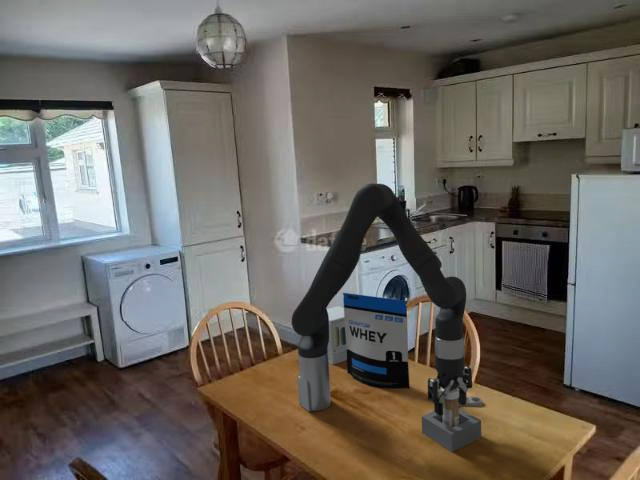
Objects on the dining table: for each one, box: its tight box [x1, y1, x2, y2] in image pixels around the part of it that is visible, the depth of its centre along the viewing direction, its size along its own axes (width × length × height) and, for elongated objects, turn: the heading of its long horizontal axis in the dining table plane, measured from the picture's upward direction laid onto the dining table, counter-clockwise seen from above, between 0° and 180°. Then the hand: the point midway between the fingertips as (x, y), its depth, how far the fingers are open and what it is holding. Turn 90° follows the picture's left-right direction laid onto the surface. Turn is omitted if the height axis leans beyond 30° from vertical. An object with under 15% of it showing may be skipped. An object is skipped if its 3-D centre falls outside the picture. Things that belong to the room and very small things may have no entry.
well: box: [421, 408, 482, 453], centre depth 131 cm, size 11×11×5 cm
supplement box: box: [326, 305, 347, 366], centre depth 189 cm, size 13×13×18 cm
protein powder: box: [342, 292, 410, 390], centre depth 164 cm, size 10×24×30 cm, turn 54°
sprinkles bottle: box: [441, 387, 460, 428], centre depth 131 cm, size 5×5×13 cm
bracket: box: [432, 393, 483, 407], centre depth 149 cm, size 8×2×15 cm
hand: (450, 409), depth 130 cm, fingers open, 8 cm apart
